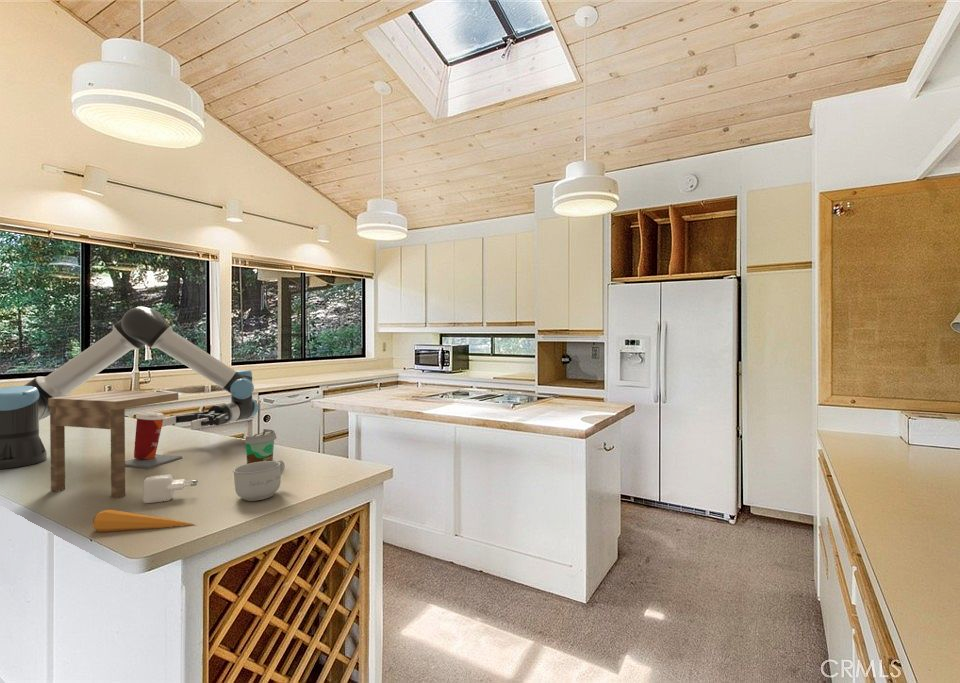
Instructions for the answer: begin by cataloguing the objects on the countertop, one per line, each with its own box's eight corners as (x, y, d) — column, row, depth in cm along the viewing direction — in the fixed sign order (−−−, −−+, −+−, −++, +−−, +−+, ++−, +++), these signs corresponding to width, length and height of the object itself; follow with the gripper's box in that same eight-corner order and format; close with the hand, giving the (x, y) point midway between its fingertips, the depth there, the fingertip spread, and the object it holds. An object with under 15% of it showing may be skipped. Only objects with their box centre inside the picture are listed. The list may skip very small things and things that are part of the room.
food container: (265, 470, 143) (265, 437, 143) (244, 470, 143) (244, 437, 143) (283, 459, 155) (283, 429, 155) (264, 459, 155) (264, 428, 155)
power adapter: (198, 493, 123) (198, 470, 123) (196, 499, 119) (196, 475, 119) (146, 499, 118) (146, 475, 118) (142, 505, 114) (141, 481, 114)
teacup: (250, 508, 113) (250, 474, 113) (224, 499, 119) (224, 467, 118) (300, 491, 125) (300, 460, 125) (274, 484, 130) (274, 455, 130)
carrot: (90, 537, 99) (87, 519, 97) (104, 521, 103) (101, 504, 101) (194, 541, 102) (193, 524, 100) (203, 525, 106) (202, 509, 104)
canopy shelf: (49, 491, 124) (48, 398, 123) (117, 471, 141) (116, 390, 141) (117, 498, 119) (116, 401, 118) (178, 477, 136) (178, 392, 136)
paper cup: (161, 459, 153) (167, 415, 154) (132, 460, 148) (139, 415, 148) (155, 454, 159) (162, 411, 159) (127, 455, 153) (134, 411, 154)
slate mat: (117, 465, 147) (117, 463, 147) (152, 455, 159) (152, 453, 159) (148, 468, 145) (148, 466, 145) (182, 458, 156) (182, 456, 156)
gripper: (251, 425, 178) (206, 437, 157) (195, 422, 184) (145, 433, 163) (251, 405, 178) (206, 414, 157) (195, 402, 184) (144, 411, 163)
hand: (174, 424), depth 160 cm, fingers open, 13 cm apart
